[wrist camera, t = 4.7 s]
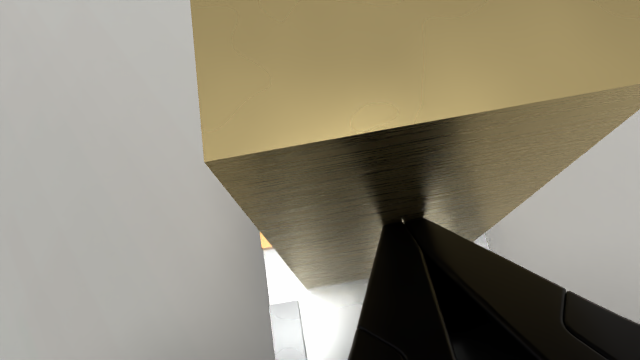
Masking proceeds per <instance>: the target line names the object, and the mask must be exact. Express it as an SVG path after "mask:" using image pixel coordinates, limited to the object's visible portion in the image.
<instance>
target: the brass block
mask: <svg viewBox="0 0 640 360" xmlns="http://www.w3.org/2000/svg"><path fill="white" fill-rule="evenodd" d="M190 3H191V15H192V26H193V38H194V49H195V61H196V72H197V84H198V95H199V107H200V118H201V130H202V141H203V153H204V162H205V164H206V165H207V166H208V167H209V169H210V170H211V171H212V172H213V174H214V175H215V176H216V177H217V179H218V180H219V181H220V182H221V183H222V185H223V186H224V187H225V188H226V190H227V191H228V192H229V193H230V195H231V196H232V197H233V198H234V200H235V201H236V202H237V203H238V205H239V206H240V207H241V208H242V210H243V211H244V212H245V213H246V215H247V216H248V217H249V218H250V220H251V221H252V222H253V223H254V225H255V226H256V227H257V228H258V230H259V231H260V232H261V233H262V235H263V236H264V237H265V238H266V240H267V241H268V242H269V243H270V245H271V246H272V247H273V248H274V250H275V251H276V252H277V253H278V255H279V256H280V257H281V258H282V260H283V261H284V262H285V263H286V265H287V266H288V267H289V268H290V270H291V271H292V272H293V273H294V275H295V276H296V277H297V278H298V280H299V281H300V282H301V283H302V285H303V286H304V287H305V288H306V289H311V288H316V287H322V286H328V285H333V284H339V283H344V282H350V281H355V280H361V279H366V278H370V274H371V270H372V266H373V262H374V258H375V254H376V250H377V247H378V243H379V239H380V235H381V231H382V227H383V226H384V225H385V224H391V223H396V222H403V223H404V224H405V222H406V221H408V220H413V219H419V218H426V219H428V220H430V221H432V222H434V223H436V224H438V225H440V226H442V227H444V228H446V229H448V230H450V231H452V232H454V233H456V234H458V235H460V236H462V237H464V238H466V239H468V240H470V241H472V242H474V241H475V240H476V239H478V238H479V237H480V236H481V235H483V234H484V233H485V232H486V231H488V230H489V229H490V228H491V227H493V226H494V225H495V224H496V223H498V222H499V221H500V220H501V219H503V218H504V217H505V216H506V215H508V214H509V213H510V212H511V211H513V210H514V209H515V208H516V207H518V206H519V205H520V204H521V203H523V202H524V201H525V200H526V199H528V198H529V197H530V196H531V195H533V194H534V193H535V192H536V191H538V190H539V189H540V188H541V187H543V186H544V185H545V184H546V183H548V182H549V181H550V180H551V179H553V178H554V177H555V176H556V175H558V174H559V173H560V172H561V171H563V170H564V169H565V168H566V167H568V166H569V165H570V164H571V163H573V162H574V161H575V160H576V159H578V158H579V157H580V156H581V155H583V154H584V153H585V152H587V151H588V150H589V149H590V148H592V147H593V146H594V145H595V144H597V143H598V142H599V141H600V140H602V139H603V138H604V137H605V136H607V135H608V134H609V133H610V132H612V131H613V130H614V129H615V128H617V127H618V126H619V125H620V124H622V123H623V122H624V121H625V120H627V119H628V118H629V117H630V116H632V115H633V114H634V113H635V112H637V111H638V110H639V109H640V0H190Z"/></svg>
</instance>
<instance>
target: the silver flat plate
mask: <svg viewBox="0 0 640 360" xmlns="http://www.w3.org/2000/svg"><path fill="white" fill-rule="evenodd" d="M260 238H261V246H262V249H263V252H264V260H265V268H266V276H267V284H268V292H269V300H270V305H269V311H270V319H271V328H272V336H273V344H274V352H275V360H347V359H348V356H349V353H350V349H351V346H352V342H353V339H354V335H355V331H356V330H357V324H358V320H359V316H360V312H361V309H362V305H363V301H364V297H365V293H366V289H367V285H368V281H369V278H366V279H361V280H355V281H350V282H344V283H339V284H333V285H328V286H322V287H316V288H311V289H306V288H305V287H304V286H303V285H302V283H301V282H300V281H299V280H298V278H297V277H296V276H295V275H294V273H293V272H292V271H291V270H290V268H289V267H288V266H287V265H286V263H285V262H284V261H283V260H282V258H281V257H280V256H279V255H278V253H277V252H276V251H275V250H274V248H273V247H272V246H271V245H270V243H269V242H268V241H267V240H266V238H265V237H264V236H263V235H262V233H261V232H260ZM474 243H476V244H478V245H480V246H482V247H484V248H486V249H488V250H489V246H488V243H487V240H486V236H485V233H484V234H483V235H481V236H480V237H479V238H478V239H476V240H475V241H474Z"/></svg>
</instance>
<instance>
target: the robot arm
mask: <svg viewBox="0 0 640 360" xmlns="http://www.w3.org/2000/svg"><path fill="white" fill-rule="evenodd" d="M347 360H640V324H638V323H636V322H633V321H631V320H629V319H626V318H624V317H622V316H620V315H618V314H616V313H614V312H612V311H609V310H607V309H605V308H603V307H601V306H599V305H597V304H595V303H593V302H591V301H589V300H587V299H585V298H583V297H581V296H579V295H577V294H575V293H573V292H571V291H567V292H566V289H565V288H563V287H561V286H559V285H557V284H555V283H553V282H551V281H549V280H547V279H545V278H543V277H541V276H539V275H537V274H535V273H533V272H531V271H529V270H527V269H525V268H523V267H521V266H519V265H517V264H515V263H513V262H511V261H509V260H507V259H505V258H503V257H501V256H499V255H497V254H495V253H493V252H492V251H490V250H488V249H486V248H484V247H482V246H480V245H478V244H476V243H474V242H472V241H470V240H468V239H466V238H464V237H462V236H460V235H458V234H456V233H454V232H452V231H450V230H448V229H446V228H444V227H442V226H440V225H438V224H436V223H434V222H432V221H430V220H428V219H426V218H419V219H413V220H408V221H406V222H405V224H404V223H403V222H396V223H391V224H385V225H384V226H383V227H382V231H381V235H380V239H379V243H378V247H377V250H376V254H375V258H374V262H373V266H372V270H371V274H370V278H369V281H368V285H367V289H366V293H365V297H364V301H363V305H362V309H361V312H360V316H359V320H358V324H357V330H356V331H355V335H354V339H353V342H352V346H351V349H350V353H349V356H348V359H347Z"/></svg>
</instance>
